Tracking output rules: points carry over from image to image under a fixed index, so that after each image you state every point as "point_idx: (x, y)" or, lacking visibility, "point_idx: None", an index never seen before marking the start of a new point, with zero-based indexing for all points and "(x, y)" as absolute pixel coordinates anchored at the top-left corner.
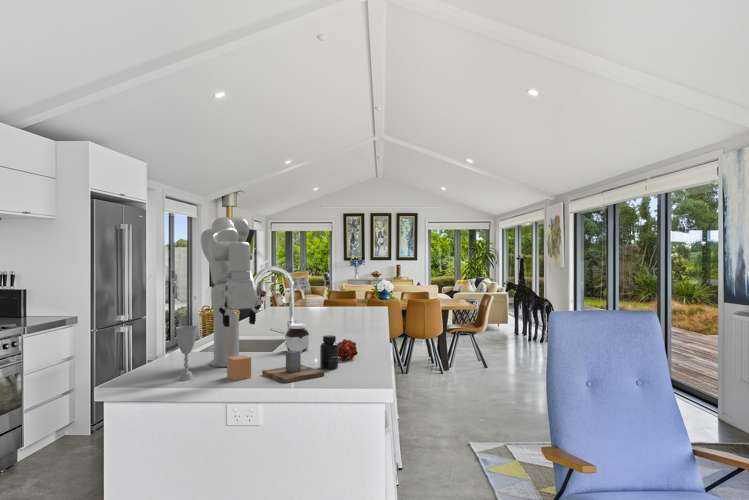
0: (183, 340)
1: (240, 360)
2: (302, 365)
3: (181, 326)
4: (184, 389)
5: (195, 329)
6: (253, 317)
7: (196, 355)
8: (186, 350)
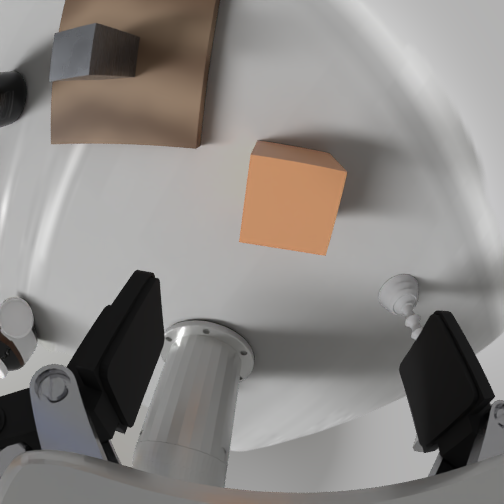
0: None
1: (313, 164)
2: (53, 124)
3: None
4: (479, 190)
5: None
6: (120, 327)
7: None
8: None
